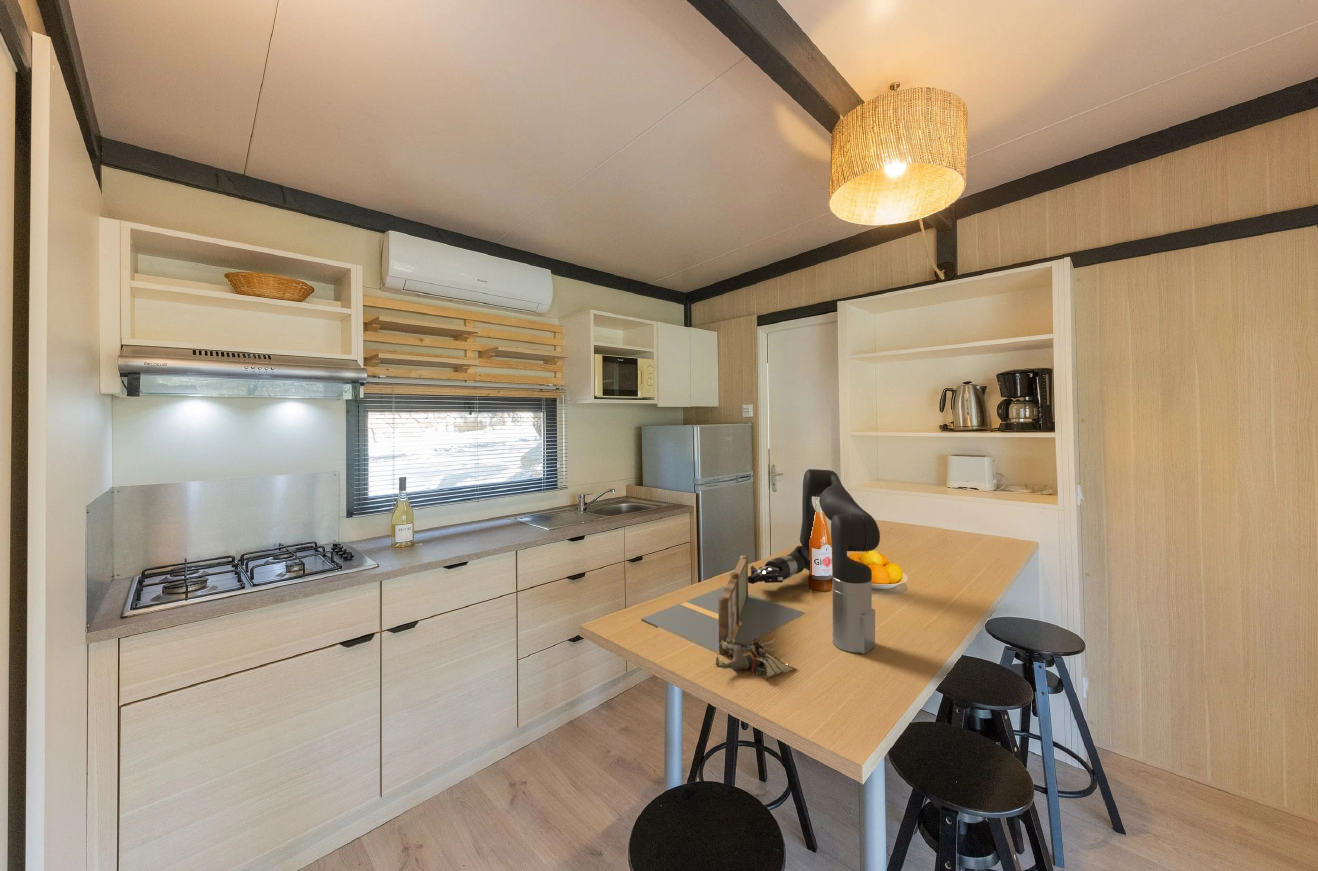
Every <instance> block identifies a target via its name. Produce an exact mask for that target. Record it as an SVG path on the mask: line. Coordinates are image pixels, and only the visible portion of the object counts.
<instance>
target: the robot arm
mask: <svg viewBox="0 0 1318 871" xmlns="http://www.w3.org/2000/svg"><path fill="white" fill-rule="evenodd" d="M817 493H818V494H822V495H821V496H820V497H819V500H818V501H819V506H820V509H821V511H822V512H823V514H824V516H825V517H826V518H827V519H828V520H829V521H830V537H831V538H830V540H831V561H832V565H831V566H832V568H831V569H832V643H833V645H834V646H835V647H836V648H838V649H840V650H842V651H846V652H849V653H855V654H856V653H858V654H862V655H866V654H867V653H869V652H870V651H871V650H873V649H874V648H875V647H876V610H875V608H873V605H872V604H873V603H872V601H873V600H872V598H873V597H872V596H873V595H872V594H873V593H872V590H873V588H872V587H873V586H872V583H873V580H872V579H873V573H872V569H871V567H870V566H868V565H867V564H865V563H864V562H860V561H858V560H855V559H853V558H851V557H849V556H848V552H862V553H863V552H871V551H874V550H876V549H877V547H878V546H879V545H880V541H881V532H880V529H879V526H878V523H877V521H876V520H875V519H874V517H873V516H872V515H871V514H870V513H868V512H867V511H866V510H865V509H863V508H862V507H861V506H860V505H859V504H858V502H856V501H855V499H854V498H853V496H852V495H851V494H850V492H848V490H846V489H845V487H844V485H843V483H842V482H841V480H840V478H839V475H838V474H837V473H836V472H835V471H833V470H831V469H816V468H814V469H813V468H810V469H806V470H805V472H804V474H803V479H802V508H801V510H802V511H801V512H802V520H801V528H800V535H799V544H801V545H798V546H796V547H794V549H793V551H791V552H790V553H788V554H785V555H781V556H778V557H774V558H772V559H769V560H767V562H766V563H765V564H764V565H763V566H760V567H758V568H756V567H755V566H753V565H751V566H750V575H748V584H751V585H754V584H756V583H763V582H764V583H765V584H776V583H784V581H785V580H788V579H790V578H792V577H793V576H795V575H798V574H800V573H802V572H803V571H804V570H807V571H809V570H810V560H809V539H810V536H811V531H812V527H813V521H814V515H815V512H816V513H817V511H816V509H815V507H814V505H813V497H815V498H817V497H816V494H817ZM809 572H810V571H809Z"/></svg>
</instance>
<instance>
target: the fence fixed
mask: <svg viewBox="0 0 1318 871" xmlns="http://www.w3.org/2000/svg"><path fill="white" fill-rule="evenodd" d="M725 587H726V588H725V590H724V592H723V594H722V596H721V597H719V598H718V615H719V644H720V643H721V642H722V641H723V640H724V642H726V641H727V640H726V639H727V638H728V636H729V637H730V638H732V636H733V633H734V630H735V627H736V625H738V624H739V574H738V573H733V572H730V573H729V579H728V582H727V584H726V585H725ZM726 637H727V638H726ZM727 643H728V644H730V643H729V642H727ZM719 653H720V654H719V655H720V656H722V655H726V656H728V655H727V654H729V651H728V650H725V649H723V648H722V647H721V646H720V645H719ZM729 655H730V654H729Z"/></svg>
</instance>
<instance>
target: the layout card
mask: <svg viewBox="0 0 1318 871" xmlns="http://www.w3.org/2000/svg"><path fill="white" fill-rule="evenodd" d="M725 588H726V586H722V587H720V588H717V589H714V590H712V591H709V592H706V593H703V594H701V595H699V596H696V597H694V598H691V599H688V600H685V601H683V602H680V603H678V604H675V605H673V606H670V607H668V608H667V607H666V608H665V609H662V610H659V611H656V612H654V613H651V614H649V615H646V616H643V617H642V618H640V621H642V620H643V621H642V622H644V623H647V624H649V625H651V626H653V627H656V628H661V629H663V630H666V631H667V632H670V633H672V634H674V635H676V636H678V637H681V638H683V639H685V640H687V641H689V642H692V643H694V644H696V645H698V646H700V647H703V648H705V649H707V650H709V651H710V652H712V653H713V652H714V653H716V654H717V655H720V653H719V615H718V598H719V597H721V596H722V594H723V592H724V590H725ZM805 614H806V611H805V612H804V611H801V610H798V609H795V608H793V607H790V606H789V607H788V606H785V605H782V604H780V603H776V602H774V601H770V600H767V599H764V598H761V597H757V596H754V595H752V594H749V593H748V598H746V600H745V603H744V606H743V608H742V611H741V614H740V617H739V624H738V625H736V627H735V630H734V633H733V636H732V638H731V639H735V640H737V641H742V642H743V641H748V642H750V643H751V642H753V640H754V639H755V638H756V639H760V638H763V637H764V636H765V635H767V634H770V633H771V632H773V631H775V630H777V629H779V628H780V627H783V626H784V625H786V624H788V623H790V622H792V621H793V620H795V619H798V618H799V617H801V616H804V615H805ZM730 644H731V643H730ZM731 645H732V644H731ZM733 645H738V644H733ZM738 646H740V647H742V646H741V645H738ZM730 655H731V654H730V653H729V654H727V655H721V656H722V657H726V656H730Z"/></svg>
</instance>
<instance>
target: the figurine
mask: <svg viewBox="0 0 1318 871" xmlns="http://www.w3.org/2000/svg"><path fill="white" fill-rule="evenodd" d="M726 638H727V637H726ZM776 639H777V638H776V637H774V638H773V640H770V641H768V642H764V643H762V641H761V639H760V638H758V639H756V638H755V639H754V640H753V642H751V643H750V642H748V641H743V642H742V641H737V640H735V639H731V638H730V637H729V636H728V638H727V639H726V640H727V641H726V642H724V640H723V641H722V642H721V643H720V644H719V645H720V646H721V647H722V648H723V649H725V650H728V651H729V653H730V654H729V655H731V656H732V660H730V661H728V662H724V661H723V660H719V656H718V655H717V656H716V658H715V663H714V665H715V666H716V667H719V668H724V669H725V668H727V669H728V668H729V669H732V670H734V671H740V670H741V671H742V673H743V674H744V673H747V674H748V675H747V676H751V675H752V674H754V675H761V676H762V677H764V678H763V680H764V681H766V680H767V679H768V678H769V679H770V678H772V677H774V676H780V675H781V674H783V673H787V672H788V673H789V672H795V671H797V670H798V668H795V667H793V666H791V665H789V663H785V662H784V661H782V660H780V659H779V658H777V657H776V656H775V655H772V654H771V653H768V652H772V651H775V648H766V647H765V646H768V645H770V647H773V643H774V642H775V641H776ZM727 642H729V643H731V644H732V645H731V644H728V643H727ZM733 644H738V645H741V646H742V647H740V646H738V645H733ZM764 668H765V671H764ZM749 671H751V672H749Z"/></svg>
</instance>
